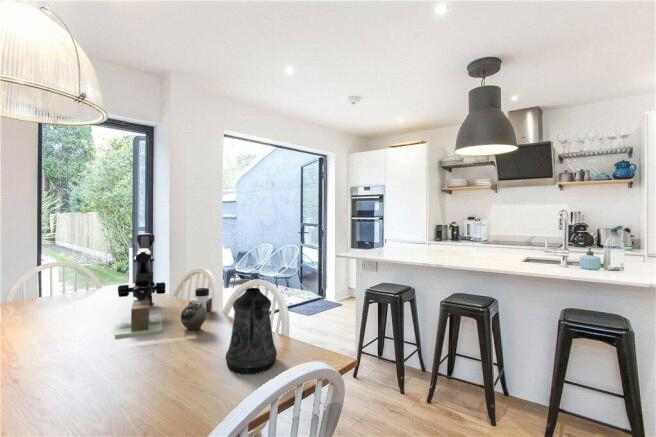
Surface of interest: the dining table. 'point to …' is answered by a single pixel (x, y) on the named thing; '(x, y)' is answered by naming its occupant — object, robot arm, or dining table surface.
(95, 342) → the dining table surface
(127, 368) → the dining table surface
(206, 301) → the medicine bottle
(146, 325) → the walnut box
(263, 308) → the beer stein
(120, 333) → the trap board
